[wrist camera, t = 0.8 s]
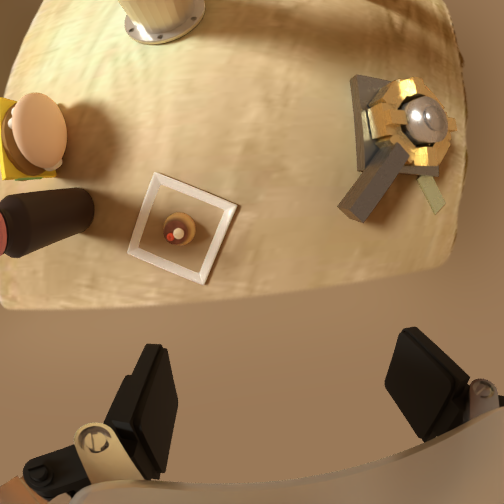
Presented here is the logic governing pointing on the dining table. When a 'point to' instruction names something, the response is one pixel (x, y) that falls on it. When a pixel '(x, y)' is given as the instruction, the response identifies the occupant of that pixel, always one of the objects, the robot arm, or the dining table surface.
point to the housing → (417, 131)
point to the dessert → (180, 228)
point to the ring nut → (392, 146)
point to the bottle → (42, 219)
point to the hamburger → (31, 137)
